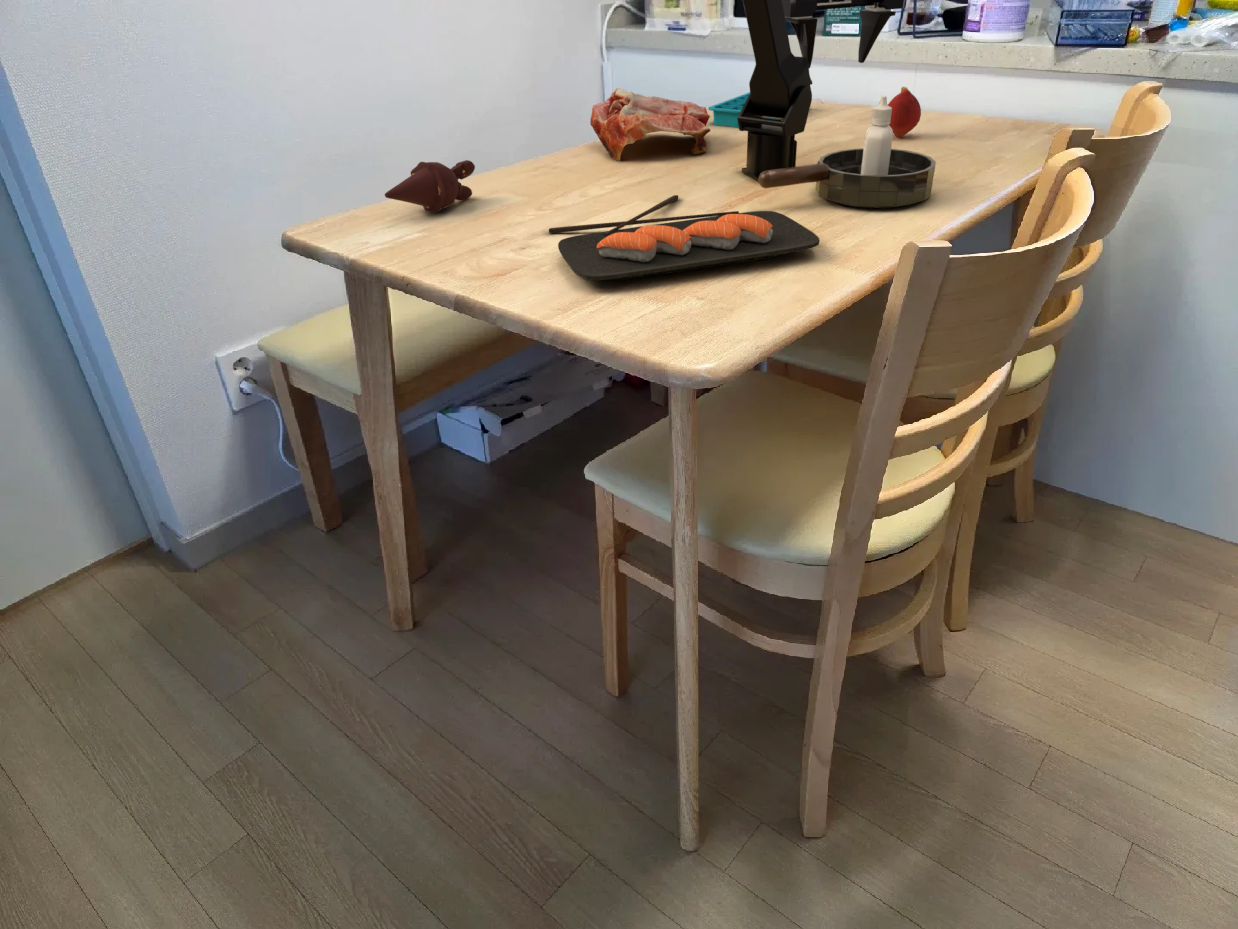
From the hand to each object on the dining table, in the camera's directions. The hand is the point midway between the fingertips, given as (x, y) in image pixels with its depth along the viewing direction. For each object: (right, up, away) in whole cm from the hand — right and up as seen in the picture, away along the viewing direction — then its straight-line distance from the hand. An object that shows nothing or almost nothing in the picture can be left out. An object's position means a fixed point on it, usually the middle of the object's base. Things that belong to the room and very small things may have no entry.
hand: (834, 65), depth 127 cm
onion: (+15, -6, +14) cm, 21 cm away
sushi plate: (-27, -33, -24) cm, 50 cm away
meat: (-27, -7, +16) cm, 32 cm away
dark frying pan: (+2, -24, -13) cm, 28 cm away
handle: (-10, -24, -18) cm, 32 cm away
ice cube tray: (-6, +6, +33) cm, 34 cm away
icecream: (-59, -26, -10) cm, 66 cm away
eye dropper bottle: (+2, -24, -14) cm, 28 cm away
